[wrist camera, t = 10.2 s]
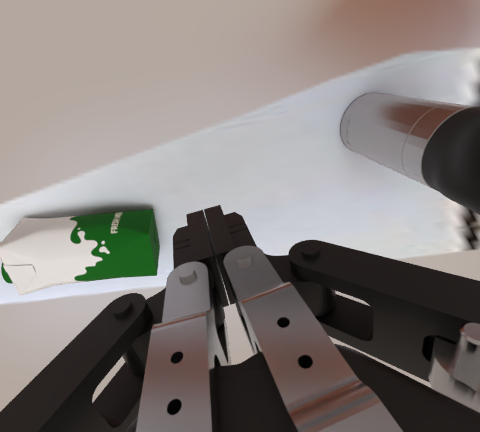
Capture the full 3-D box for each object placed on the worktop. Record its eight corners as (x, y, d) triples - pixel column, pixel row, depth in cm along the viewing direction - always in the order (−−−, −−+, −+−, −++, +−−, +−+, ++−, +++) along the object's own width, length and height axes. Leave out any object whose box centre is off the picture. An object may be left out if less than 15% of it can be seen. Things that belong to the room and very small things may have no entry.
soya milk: (161, 248, 49) (30, 262, 46) (152, 199, 44) (6, 212, 41) (157, 284, 42) (1, 304, 39) (147, 231, 37) (-32, 249, 34)
